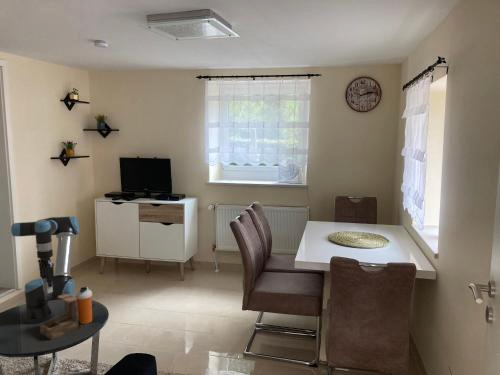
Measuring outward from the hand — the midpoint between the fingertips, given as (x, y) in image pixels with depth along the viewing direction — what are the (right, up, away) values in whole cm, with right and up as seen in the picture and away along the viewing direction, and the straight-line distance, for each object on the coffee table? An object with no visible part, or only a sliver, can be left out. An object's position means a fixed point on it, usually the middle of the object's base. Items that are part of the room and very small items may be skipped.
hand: (48, 291), depth 223 cm
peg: (0, -4, 0) cm, 4 cm away
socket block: (+3, -24, +7) cm, 25 cm away
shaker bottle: (+13, -22, +18) cm, 32 cm away
